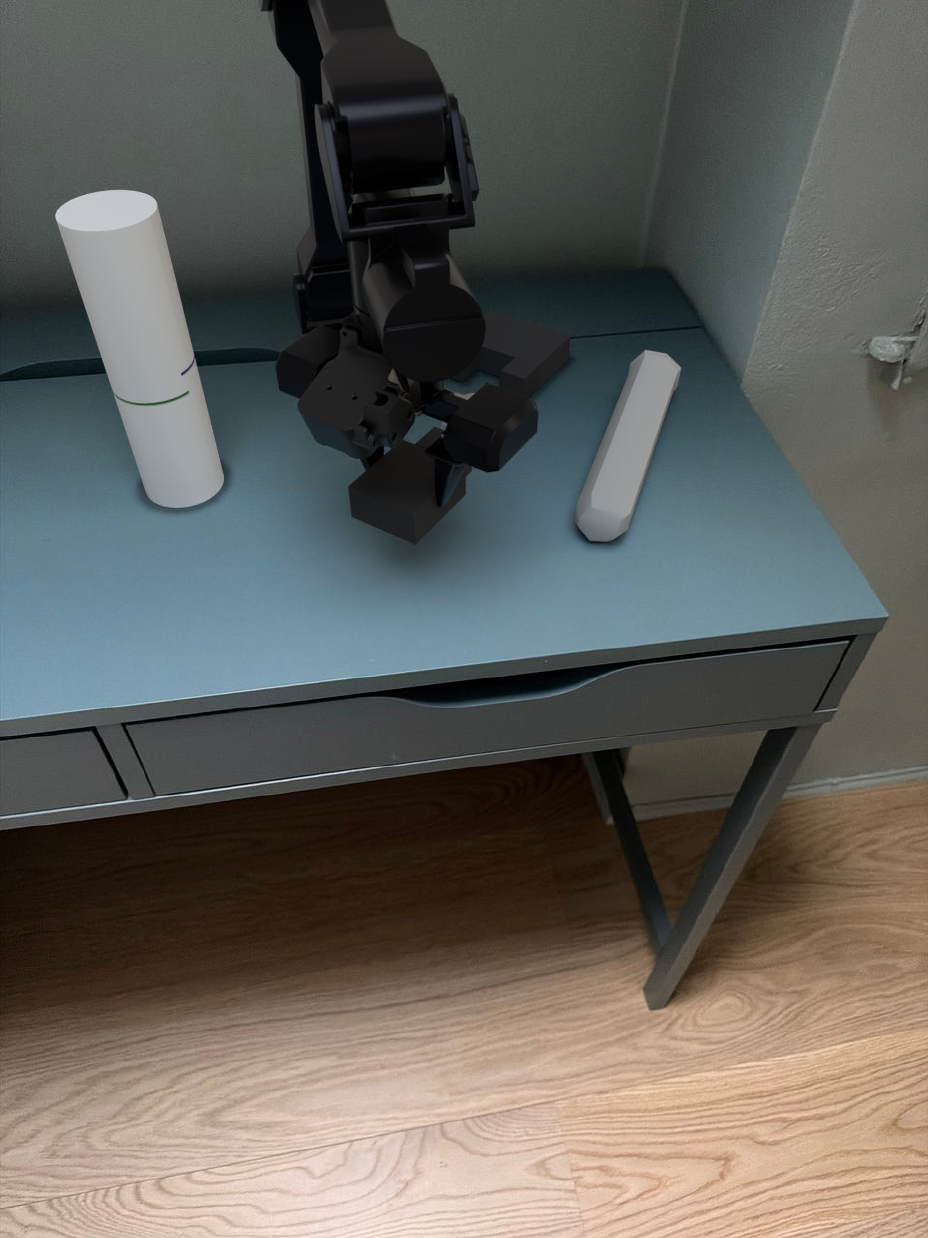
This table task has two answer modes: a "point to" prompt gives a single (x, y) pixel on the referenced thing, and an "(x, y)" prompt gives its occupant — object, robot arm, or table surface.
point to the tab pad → (403, 491)
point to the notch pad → (518, 353)
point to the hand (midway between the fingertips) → (408, 489)
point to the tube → (627, 447)
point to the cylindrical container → (143, 341)
